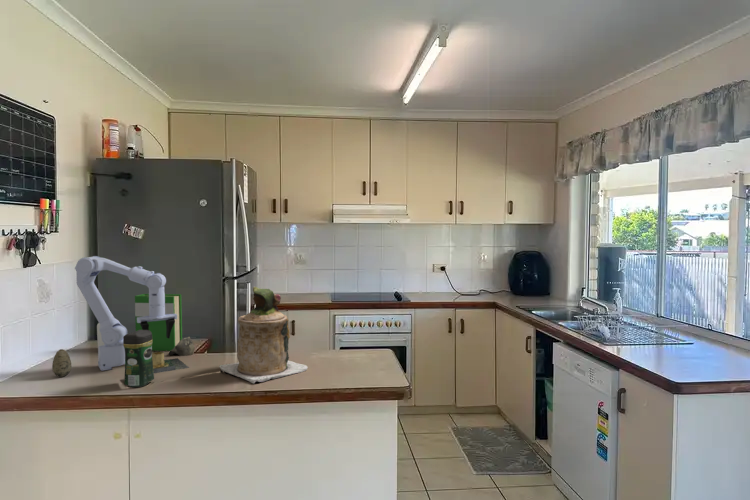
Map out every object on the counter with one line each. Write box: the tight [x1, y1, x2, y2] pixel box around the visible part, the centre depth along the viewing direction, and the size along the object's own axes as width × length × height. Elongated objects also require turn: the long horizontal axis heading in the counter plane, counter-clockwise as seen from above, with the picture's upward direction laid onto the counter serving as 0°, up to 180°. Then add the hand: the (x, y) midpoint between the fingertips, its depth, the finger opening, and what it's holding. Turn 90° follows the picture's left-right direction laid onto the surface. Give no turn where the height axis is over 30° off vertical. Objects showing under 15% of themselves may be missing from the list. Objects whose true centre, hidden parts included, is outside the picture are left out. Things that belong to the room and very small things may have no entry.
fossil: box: [168, 336, 195, 357], centre depth 218 cm, size 11×9×10 cm
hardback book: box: [134, 293, 183, 352], centre depth 229 cm, size 18×7×24 cm, turn 84°
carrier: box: [153, 357, 190, 374], centre depth 198 cm, size 15×17×4 cm
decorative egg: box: [51, 348, 72, 378], centre depth 187 cm, size 6×6×10 cm
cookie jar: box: [219, 286, 308, 385], centre depth 193 cm, size 25×25×32 cm
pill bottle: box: [96, 315, 115, 348], centre depth 228 cm, size 8×8×15 cm
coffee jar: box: [123, 330, 155, 388], centre depth 178 cm, size 10×8×19 cm
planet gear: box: [152, 351, 169, 368], centre depth 194 cm, size 7×7×6 cm
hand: (157, 339), depth 201 cm, fingers open, 7 cm apart
